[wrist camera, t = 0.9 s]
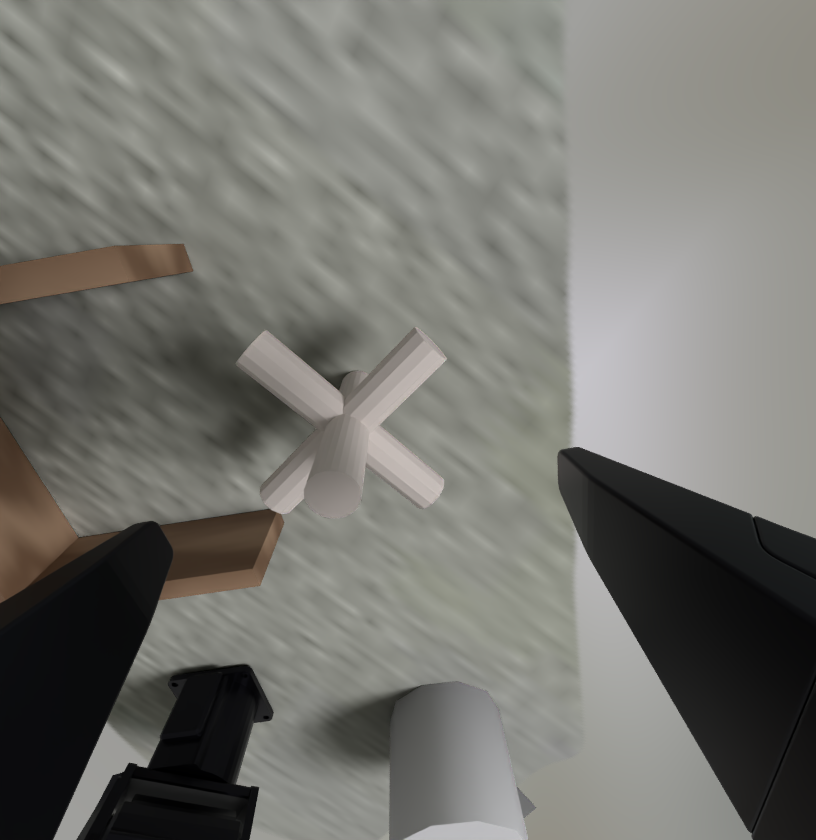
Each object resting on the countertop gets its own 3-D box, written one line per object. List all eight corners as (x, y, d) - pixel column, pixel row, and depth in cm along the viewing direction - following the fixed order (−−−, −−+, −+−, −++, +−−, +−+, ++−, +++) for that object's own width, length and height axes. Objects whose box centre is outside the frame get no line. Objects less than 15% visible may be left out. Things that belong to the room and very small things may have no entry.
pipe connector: (226, 389, 21) (103, 502, 12) (348, 244, 19) (305, 251, 10) (365, 494, 25) (349, 645, 15) (487, 383, 22) (554, 488, 13)
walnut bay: (284, 523, 25) (260, 585, 21) (69, 554, 26) (0, 622, 21) (183, 243, 18) (114, 245, 14) (-106, 294, 19) (-264, 312, 14)
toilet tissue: (496, 764, 38) (522, 900, 30) (371, 729, 35) (365, 870, 27) (554, 712, 35) (600, 849, 27) (422, 669, 32) (432, 810, 24)
